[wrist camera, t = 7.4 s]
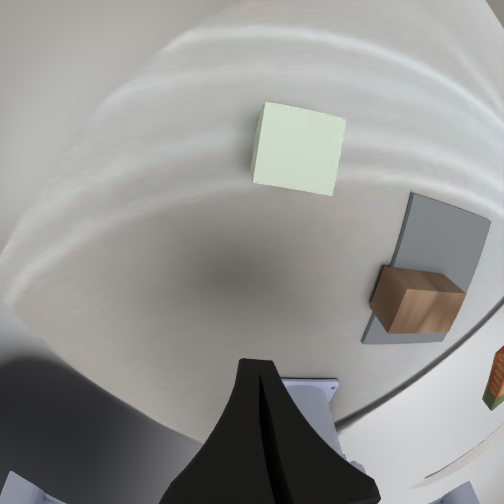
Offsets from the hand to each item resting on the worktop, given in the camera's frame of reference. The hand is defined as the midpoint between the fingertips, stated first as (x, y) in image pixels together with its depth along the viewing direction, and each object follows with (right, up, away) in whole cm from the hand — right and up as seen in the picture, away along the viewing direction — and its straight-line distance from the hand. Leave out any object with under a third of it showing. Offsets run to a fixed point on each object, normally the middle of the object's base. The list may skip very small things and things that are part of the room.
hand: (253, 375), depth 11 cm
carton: (+44, -15, +19) cm, 51 cm away
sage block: (+2, +12, +7) cm, 14 cm away
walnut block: (+10, +2, +8) cm, 13 cm away
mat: (+17, +3, +11) cm, 20 cm away
